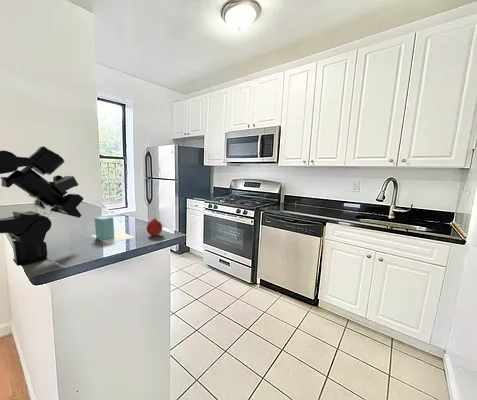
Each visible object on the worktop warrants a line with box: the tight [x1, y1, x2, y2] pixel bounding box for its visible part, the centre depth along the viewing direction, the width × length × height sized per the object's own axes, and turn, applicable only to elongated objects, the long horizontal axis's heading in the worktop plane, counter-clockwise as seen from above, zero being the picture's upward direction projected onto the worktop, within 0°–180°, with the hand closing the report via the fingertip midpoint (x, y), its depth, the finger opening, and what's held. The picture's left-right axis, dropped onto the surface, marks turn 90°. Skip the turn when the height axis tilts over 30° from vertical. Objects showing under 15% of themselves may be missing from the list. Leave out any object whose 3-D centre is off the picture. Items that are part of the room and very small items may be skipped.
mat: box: [91, 230, 135, 245], centre depth 88 cm, size 10×15×1 cm, turn 53°
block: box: [94, 215, 115, 241], centre depth 85 cm, size 4×5×8 cm
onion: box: [146, 217, 163, 237], centre depth 90 cm, size 6×6×8 cm
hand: (80, 216), depth 77 cm, fingers closed
